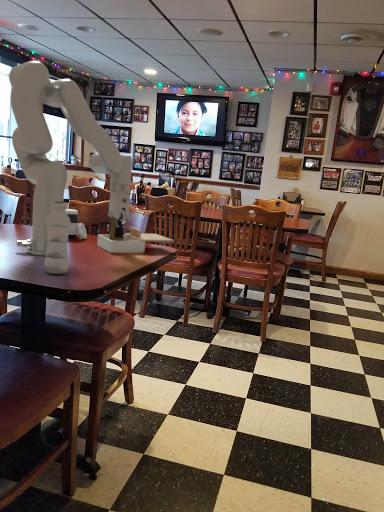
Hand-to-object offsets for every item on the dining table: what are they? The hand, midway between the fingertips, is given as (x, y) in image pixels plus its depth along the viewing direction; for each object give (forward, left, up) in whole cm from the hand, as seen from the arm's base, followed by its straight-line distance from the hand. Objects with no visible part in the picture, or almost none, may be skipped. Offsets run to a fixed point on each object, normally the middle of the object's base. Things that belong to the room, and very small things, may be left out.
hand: (116, 236), depth 155 cm
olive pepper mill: (0, 0, -3) cm, 3 cm away
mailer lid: (+14, 0, -1) cm, 14 cm away
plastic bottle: (-31, -33, -5) cm, 46 cm away
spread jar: (-9, +25, -5) cm, 27 cm away
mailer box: (+2, 0, -5) cm, 6 cm away
